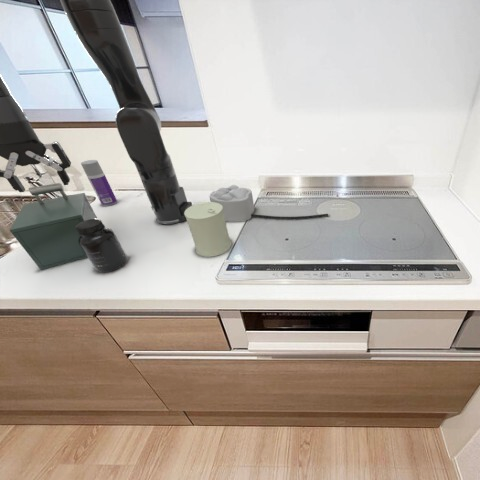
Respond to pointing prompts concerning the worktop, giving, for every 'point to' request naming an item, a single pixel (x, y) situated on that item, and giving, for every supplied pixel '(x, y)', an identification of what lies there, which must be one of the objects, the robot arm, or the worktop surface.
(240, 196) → the lumpy-topped squat cylinder
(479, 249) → the worktop surface
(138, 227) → the worktop surface
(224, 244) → the can
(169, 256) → the worktop surface
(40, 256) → the trash bin
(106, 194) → the container
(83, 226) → the supplement bottle
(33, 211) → the bin lid
